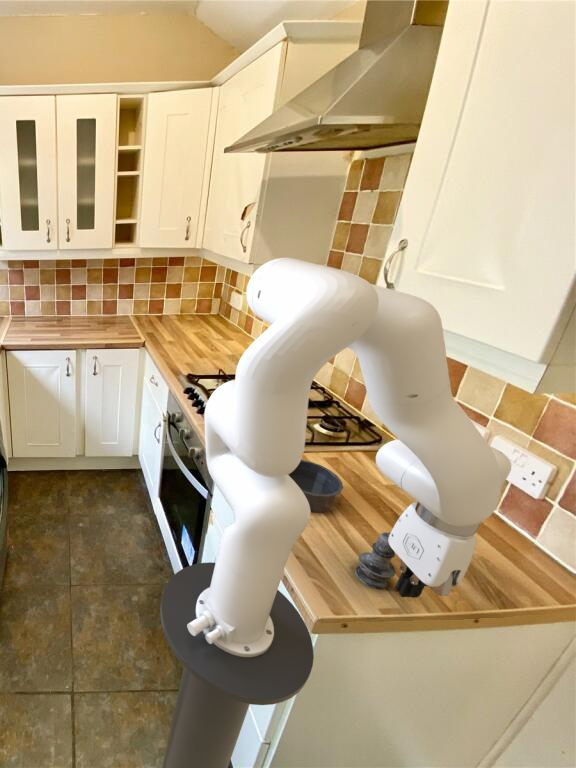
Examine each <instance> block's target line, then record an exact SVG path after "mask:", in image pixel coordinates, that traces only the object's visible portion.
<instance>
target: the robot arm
mask: <svg viewBox="0 0 576 768" xmlns="http://www.w3.org/2000/svg"><path fill="white" fill-rule="evenodd" d="M245 293H246V294H245V295H246V302H247V305H248V307H249V309H250V310H251V312H252V314H254V315H255V316H256V317H257V318H259V319H260V320H263V321H264V322H266V323H268V324H269V326H268V328H267V329H265V330H264V331H263V332H262V333H261V334H260V335H259V336H258V337H257V338H255V340H253V342H252V343H251V344H250V345H249V346H248V347H247V348H246V349H245V351H244V352H243V353H242V355H241V356H240V358H239V360H238V362H237V365H236V370H235V377H234V379H232V380H228V381H226V382H224V383H222V384H220V385H219V386H218V387H217V388H215V390H214V391H213V392H211V393H212V394H211V395H210V397H209V398H208V400H207V402H206V405H205V408H204V443H205V459H206V466H207V470H208V471H207V472H208V473H209V476H210V478H211V480H212V481H213V482H214V484H215V486H216V487H217V489H218V490H219V492H220V493H221V495H222V496H223V498H224V500H225V502H226V503H227V505H228V506H229V508H230V510H231V511H232V514H233V522H232V523H230V524H228V525H226V527H225V528H224V530H223V531H222V533H221V536H220V540H219V545H218V551H217V555H216V558H215V562H214V563H215V568H214V572H213V576H212V581H211V585H210V587H209V588H207V589H206V590H204V591H203V592H202V593H201V594H200V596H199V598H198V600H197V604H196V618H197V619H195V620H193V621H192V622H190V623H189V624H187V628H188V630H189V632H190V633H191V634H192V635H193V636H196V635H197V634H199V633H200V632H202V631H203V632H204V634H205V635H206V636H205V638H206V640H207V642H208V643H209V644H212V643H214V644H215V645H216V646H218V647H219V648H220V649H222V650H224V651H226V652H228V653H230V654H233V655H236V656H240V657H255V656H258V655H261V654H263V653H264V652H266V651H267V650H268V648H269V647H270V646H271V643H272V641H273V637H274V626H273V623H272V620H271V617H270V615H269V614H270V611H271V608H272V605H273V602H274V599H275V596H276V593H277V590H279V587H280V583H281V580H282V578H283V574H284V571H285V568H286V565H287V562H288V559H289V556H290V554H291V551H292V550H293V547H294V546H295V544H296V542H297V541H298V539H299V538H300V537H301V535H302V534H303V533H304V532H305V530H306V528H308V525H309V523H310V521H311V513H312V512H311V510H310V505H309V503H308V500H307V498H306V497H305V495H304V493H303V492H302V490H301V489H300V487H299V486H298V485H297V484H296V483H295V482H294V480H293V479H292V478H291V477H290V476H289V475H288V474H290V473H292V472H293V471H294V470H295V469H296V468H297V466H298V465H299V463H300V461H301V460H303V459H302V458H303V456H304V452H305V447H306V437H307V420H308V411H309V399H310V394H311V389H312V388H311V387H312V384H313V381H314V379H315V377H316V376H317V374H318V373H319V372H320V370H321V369H322V368H323V367H324V366H325V365H326V364H328V363H329V362H330V361H331V360H332V359H333V358H334V357H336V356H337V355H338V354H340V353H341V352H342V351H344V350H345V349H347V348H348V349H350V350H352V351H353V352H354V353H355V355H356V357H357V360H358V363H359V368H360V370H361V374H362V379H363V383H364V386H365V390H366V391H365V392H366V395H367V399H368V404H369V406H370V409H371V410H372V412H373V413H374V415H375V416H376V417H377V419H378V420H379V421H380V422H381V423H382V424H383V425H384V426H385V427H386V428H387V430H388V431H389V432H390V433H391V434H392V435H394V436H395V438H396V439H394V440H393V439H392V440H391V441H388V442H386V443H385V444H383V445H382V446H381V447H380V448H379V449H378V450H377V452H376V456H375V464H376V468H377V469H378V470H379V472H380V473H381V474H382V475H383V476H384V477H386V479H388V480H389V481H391V483H393V484H394V485H395V486H397V487H398V488H399V489H400V490H402V491H403V492H405V493H406V494H407V495H409V496H410V497H412V499H414V500H415V501H413V502H412V503H411V504H410V505H409V506H407V508H406V509H405V510H404V511H403V512H402V513H401V514H400V516H399V518H398V519H397V521H396V522H395V524H394V525H393V527H392V529H391V531H390V532H391V533H390V535H389V538H388V543H389V545H390V547H391V548H392V549H393V550H394V552H395V555H397V557H399V559H400V565H399V570H400V572H401V574H400V575H399V577H398V580H397V582H396V584H395V586H394V590H395V592H397V593H398V595H399V596H400V597H401V598H412V599H415V598H419V597H420V596H421V594H422V593H423V591H424V589H425V587H429V588H430V589H431V590H432V591H433V592H434V593H435V594H437V596H439V597H449V596H450V594H451V589H452V587H454V588H456V587H457V586H458V585H459V584H460V583H461V582H462V580H463V579H464V578H465V575H466V573H467V571H468V569H469V567H470V564H471V562H472V559H473V556H474V553H475V549H476V542H477V537H476V536H475V535H476V534H477V532H478V530H479V527H480V526H481V525H482V523H483V522H484V521H486V520H488V518H490V517H491V516H492V515H493V514H494V512H495V511H496V509H497V508H498V505H499V503H500V499H501V489H502V488H503V486H504V484H505V483H506V480H507V479H508V477H509V475H510V473H511V471H512V462H511V460H510V459H509V457H508V456H507V455H506V454H505V453H503V452H502V451H500V450H499V449H497V448H495V447H493V446H490V444H489V443H488V441H487V440H486V439H485V437H484V436H483V435H482V433H480V431H479V430H478V428H477V427H476V426H475V424H474V423H473V421H472V420H471V418H470V417H469V415H468V414H467V413H466V412H465V410H464V408H462V406H460V404H459V403H458V402H457V401H456V399H455V397H454V396H453V393H452V387H451V379H450V373H449V367H448V360H447V350H446V349H447V348H446V342H445V335H444V329H443V323H442V318H441V316H440V313H439V311H438V310H437V308H436V307H435V306H434V305H433V304H432V303H430V302H429V301H427V300H425V299H423V298H421V297H419V296H416V295H414V294H410V293H406V292H403V291H398V290H396V289H395V290H394V289H391V288H388V287H383V286H380V285H377V284H373V283H370V282H369V281H368V280H366V279H365V278H362V277H361V276H359V275H356V274H355V273H353V272H349V271H347V270H343V269H341V268H340V269H339V268H336V267H333V266H328V265H323V264H318V263H314V262H310V261H306V260H302V259H299V258H294V257H279V258H274V259H272V260H269V261H267V262H265V263H263V264H262V265H260V266H259V267H258V268H257V269H256V270H255V271H254V272H253V274H252V275H251V277H250V279H249V280H248V283H247V285H246V291H245Z"/></svg>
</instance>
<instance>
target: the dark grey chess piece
mask: <svg viewBox="0 0 576 768" xmlns="http://www.w3.org/2000/svg"><path fill="white" fill-rule="evenodd" d="M390 533H391V531H389V532H386V531H385V532H381V533H380V534H379V536H378V538H377V539H376V542H374V543H372V545H371V547H372V550H371V552H367V551H366V552H365V551H364V552H362V553H360V554H359V556H358V563H359V566H357V567H356V568H355V570H354V573H355V575H356V577H357V579H359V580H360V582H362V583H363V584H364V585H366V586H368V587H370V588H372V589H376V590H384V589H386V588H387V587H388V580H390V579H391V578H393V577H395V575H396V573H397V572H396V571H397V570H396V568H395V566H394V565H393V564H392V562H391V560H392V559H394V558H395V557H396V553H395V552H394V550H393V549H392V548H391V547H390V545H389V543H388V538H389V535H390Z"/></svg>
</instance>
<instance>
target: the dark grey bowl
mask: <svg viewBox="0 0 576 768" xmlns="http://www.w3.org/2000/svg"><path fill="white" fill-rule="evenodd" d="M288 475H289V476H290V477H291V478H292V479H293V480H294V482H295V483H296V484H297V485H298V486H299V487H300V489H301V490H302V492H303V493H304V495H305V497H306V498H307V500H308V503H309V505H310V510H311V513H317V514H318V513H319V514H320V513H321V514H323V513H328V512H331V511H333V510H334V509H335V508H336V507H337V505H338V503H339V500H340V498H341V494H342V492H343V490H344V484H343V481H342V479H340V477H339V476H338V475H337V474H336V473H334V472H333V471H332V470H330V469H329V468H327V467H325V466H323V465H321V464H318V463H315V462H314V461H309V460H305V459H301V461H300V463H299V465H298V466H297V468H296V469H295V470H294V471H293V472H292V473H290V474H288Z"/></svg>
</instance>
